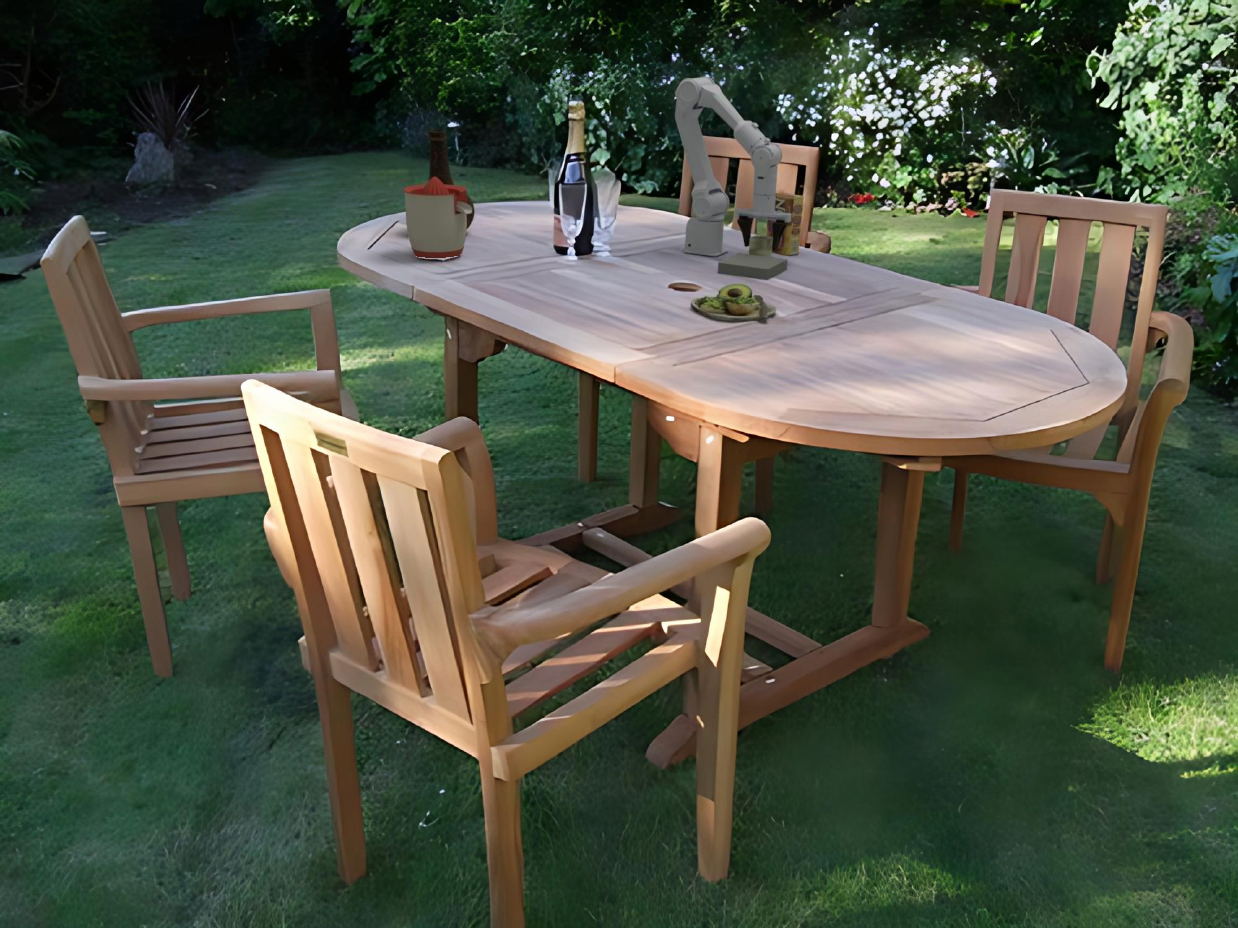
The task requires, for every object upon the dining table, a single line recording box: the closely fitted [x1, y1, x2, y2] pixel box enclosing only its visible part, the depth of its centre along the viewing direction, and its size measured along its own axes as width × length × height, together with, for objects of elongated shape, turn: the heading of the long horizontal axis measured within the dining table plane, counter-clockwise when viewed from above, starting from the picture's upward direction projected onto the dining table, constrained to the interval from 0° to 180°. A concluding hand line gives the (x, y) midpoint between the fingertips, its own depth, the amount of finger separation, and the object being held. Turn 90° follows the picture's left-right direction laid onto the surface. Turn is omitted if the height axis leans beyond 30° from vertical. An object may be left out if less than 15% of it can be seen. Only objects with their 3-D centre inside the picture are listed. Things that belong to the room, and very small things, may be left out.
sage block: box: [748, 234, 773, 257], centre depth 285 cm, size 4×4×6 cm
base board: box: [717, 252, 788, 280], centre depth 275 cm, size 13×13×2 cm
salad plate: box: [690, 283, 777, 323], centre depth 238 cm, size 19×18×5 cm
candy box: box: [765, 191, 805, 256], centre depth 293 cm, size 9×4×15 cm, turn 39°
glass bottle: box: [425, 129, 476, 230], centre depth 304 cm, size 18×18×28 cm
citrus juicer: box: [402, 177, 472, 258], centre depth 279 cm, size 16×17×20 cm
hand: (760, 247), depth 285 cm, fingers open, 7 cm apart
